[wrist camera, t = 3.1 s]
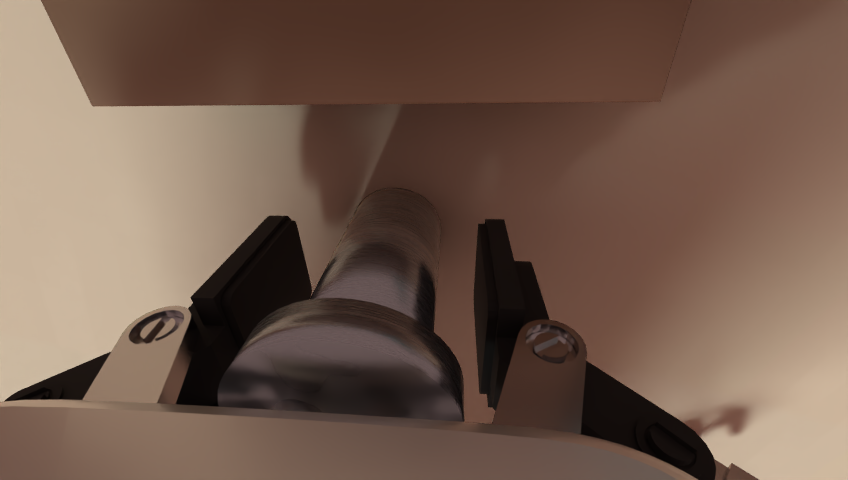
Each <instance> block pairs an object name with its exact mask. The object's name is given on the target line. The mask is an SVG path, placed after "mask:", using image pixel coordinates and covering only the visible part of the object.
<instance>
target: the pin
mask: <svg viewBox="0 0 848 480" xmlns="http://www.w3.org/2000/svg"><path fill="white" fill-rule="evenodd" d="M440 236H441V224H440V219H439V217H438V214H437V212H436V211H435V209H434V208H433V206H432V205H431V204H430V203H429V202H428V201H427V200H426V199H425V198H423V197H422V196H420V195H419V194H417V193H414V192H412V191H409V190H406V189H401V188H387V189H382V190H379V191H376V192H374V193H372V194H370V195H369V196H367V197H366V198H365V199H364V200H363V201H362V202H361V203H360V205H359V207H358V208H357V210H356V212H355V214H354V216H353V218H352V220H351V221H350V223H349V225H348V227H347V229H346V231H345V233H344V235H343V237H342V239H341V241H340V242H339V244H338V246H337V248H336V250H335V252H334V254H333V256H332V258H331V260H330V261H329V263H328V265H327V267H326V269H325V271H324V273H323V275H322V277H321V279H320V281H319V282H318V284H317V286H316V288H315V290H314V292H313V294H312V296H311V298H310V300H304V301H300V302H296V303H292V304H290V305H287V306H284V307H282V308H279V309H278V310H276V311H274V312H272V313H271V314H269V315H268V316H266V317H265V318H264V319H263V320H261V321H260V322H259V323H258V325H257V326H256V327H255V328H254V329H253V331H252V332H251V334H250V335H249V337H248V338H247V340H246V341H245V343H244V344H243V346H242V347H241V349H240V350H239V352H238V354H237V355H236V357H235V358H234V360H233V361H232V363H231V364H230V366H229V367H228V369H227V370H226V372H225V373H224V375H223V377H222V379H221V381H220V384H219V388H218V405H219V407H233V408H250V409H267V410H284V411H301V412H318V413H334V414H351V415H366V416H382V417H397V418H412V419H428V420H443V421H459V422H464V384H463V375H462V371H461V367H460V365H459V363H458V361H457V359H456V357H455V355H454V354H453V352H452V351H451V349H450V348H449V347H448V346H447V345H446V343H445V342H444V341H443V340H442V339H441V338H440V337H439V336H438V335H436V334H435V333H434V319H435V305H436V292H437V278H438V264H439V250H440Z"/></svg>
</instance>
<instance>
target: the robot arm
mask: <svg viewBox="0 0 848 480" xmlns="http://www.w3.org/2000/svg"><path fill="white" fill-rule="evenodd" d="M311 292H312V288H311V283H310V278H309V274H308V270H307V266H306V262H305V258H304V253H303V249H302V245H301V241H300V237H299V232H298V228H297V225H296V222H295V221H291V219H290V218H289V217H288V216H268V217H267V218H266V219H265V220H264V221H263V222H262V223H261V224H260V225H259V226H258V227H257V229H256V230H255V231H254V232H253V233H252V234H251V235H250V236H249V237H248V238H247V239H246V240H245V241H244V242H243V243H242V244H241V245H240V246H239V247H238V248H237V249H236V250H235V252H234V253H233V254H232V255H231V256H230V257H229V258H228V259H227V260H226V261H225V262H224V263H223V264H222V265H221V266H220V267H219V268H218V269H217V270H216V271H215V272H214V273H213V275H212V276H211V277H210V278H209V279H208V280H207V281H206V282H205V283H204V284H203V285H202V286H201V287H200V288H199V289H198V290H197V291H196V292H195V293H194V294H193V295H192V296H191V300H192V302H193V304H192V305H191V306H190V307H189V308H188V309H187V308H185V307H181V306H168V307H164V308H160V309H156V310H154V311H151V312H149V313H146V314H145V315H143V316H141V317H140V318H138V319H136V320H135V321H134V322H133V323H131V324H130V325H129V326H128V327H127V328H126V329H125V331H124V332H123V333H122V335H121V337H120V338H119V340H118V342H117V343H116V345H115V346H114V348H113V350H112V351H111V352H109V353H107V354H104V355H102V356H100V357H97V358H95V359H93V360H90V361H88V362H86V363H83V364H81V365H79V366H76V367H74V368H72V369H69V370H67V371H64V372H62V373H60V374H57V375H55V376H53V377H50V378H48V379H46V380H43V381H41V382H39V383H36V384H34V385H32V386H30V387H27V388H24V389H22V390H20V391H18V392H16V393H15V394H13V395H11V396H10V397H9V398H7V399H6V400H5V401H4V402H0V480H759V479H757V478H755V477H754V476H752V475H750V474H749V473H747V472H746V471H744V470H742V469H741V468H739V467H737V466H736V465H734V464H733V463H731V465H730V466H729V467H726V466H724V465H723V464H721V463H720V462H718V461H716V460H715V459H714V457H713V455H712V453H711V452H710V450H709V448H708V447H707V445H706V443H705V442H704V441H703V440H702V439H701V438H700V437H699V436H698V435H697V433H696V432H695V431H693V430H692V429H691V428H689V427H688V426H687V425H685V424H684V423H683V422H681V421H680V420H678V419H677V418H675V417H673V416H672V415H670V414H669V413H667V412H666V411H664V410H662V409H661V408H659V407H658V406H656V405H655V404H653V403H652V402H650V401H648V400H647V399H645V398H644V397H642V396H641V395H639V394H637V393H636V392H634V391H633V390H631V389H630V388H628V387H626V386H625V385H623V384H622V383H620V382H619V381H617V380H616V379H614V378H612V377H611V376H609V375H608V374H606V373H605V372H603V371H601V370H600V369H598V368H597V367H595V366H594V365H592V364H590V363H589V362H587V361H586V356H587V351H586V345H585V343H584V341H583V339H582V338H581V336H580V335H579V334H578V333H577V332H576V331H575V330H573V329H572V328H570V327H568V326H567V325H565V324H562V323H559V322H557V321H552V320H549V317H548V314H547V311H546V308H545V304H544V301H543V298H542V295H541V291H540V288H539V285H538V282H537V279H536V275H535V272H534V269H533V266H532V264H531V262H524V261H514V258H513V254H512V250H511V246H510V242H509V238H508V234H507V230H506V225H505V221H504V220H503V219H486V220H485V224H478V236H477V251H476V266H475V282H474V314H475V330H476V346H477V362H478V378H479V392H480V394H487V400H488V407H493V409H494V410H495V411H496V412H495V415H494V419H493V422H492V424H483V423H471V422H459V421H443V420H428V419H412V418H397V417H382V416H366V415H351V414H334V413H318V412H301V411H284V410H267V409H250V408H233V407H219V405H218V388H219V384H220V381H221V379H222V377H223V375H224V373H225V372H226V370H227V369H228V367H229V366H230V364H231V363H232V361H233V360H234V358H235V357H236V355H237V354H238V352H239V350H240V349H241V347H242V346H243V344H244V343H245V341H246V340H247V338H248V337H249V335H250V334H251V332H252V331H253V329H254V328H255V327H256V326H257V325H258V323H259V322H260V321H261V320H263V319H264V318H265V317H266V316H268V315H269V314H271V313H272V312H274V311H276V310H278V309H279V308H282V307H284V306H287V305H290V304H292V303H296V302H300V301H304V300H309V299H310V297H311Z"/></svg>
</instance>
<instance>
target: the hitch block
mask: <svg viewBox="0 0 848 480" xmlns="http://www.w3.org/2000/svg"><path fill="white" fill-rule="evenodd" d="M41 1H42V3H43V5H44V7H45V10H46V12H47V14H48V16H49V18H50V20H51V22H52V24H53V26H54V28H55V30H56V32H57V34H58V36H59V38H60V40H61V43H62V45H63V47H64V49H65V51H66V53H67V55H68V57H69V59H70V61H71V63H72V65H73V67H74V69H75V71H76V73H77V76H78V78H79V80H80V82H81V84H82V86H83V88H84V90H85V92H86V94H87V96H88V98H89V100H90V102H91V104H92V106H187V105H305V104H423V103H541V102H659V101H661V97H662V94H663V91H664V88H665V84H666V81H667V78H668V75H669V71H670V68H671V65H672V62H673V58H674V55H675V52H676V49H677V45H678V42H679V39H680V36H681V32H682V29H683V26H684V22H685V19H686V16H687V13H688V9H689V6H690V3H691V0H41Z"/></svg>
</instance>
